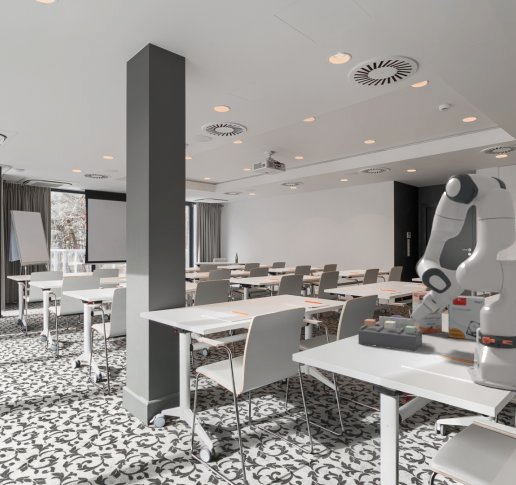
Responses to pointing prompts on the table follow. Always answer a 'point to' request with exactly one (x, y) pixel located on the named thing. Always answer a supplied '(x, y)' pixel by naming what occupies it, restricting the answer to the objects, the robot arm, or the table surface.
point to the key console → (391, 335)
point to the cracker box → (430, 321)
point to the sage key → (411, 329)
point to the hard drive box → (464, 316)
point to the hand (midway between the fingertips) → (410, 323)
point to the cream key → (390, 324)
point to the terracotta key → (369, 322)
